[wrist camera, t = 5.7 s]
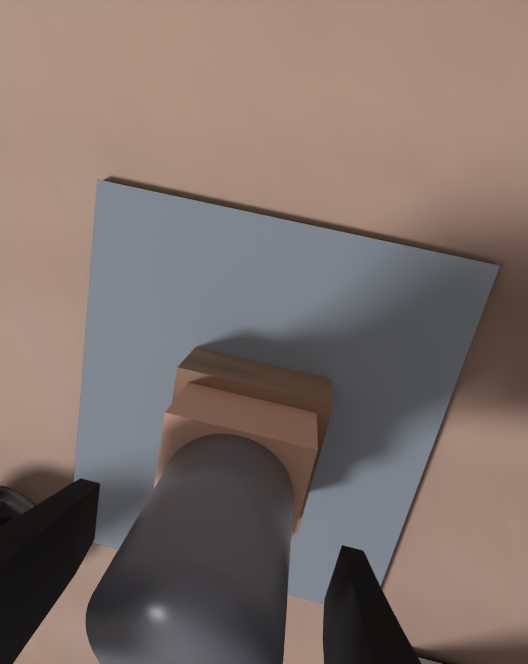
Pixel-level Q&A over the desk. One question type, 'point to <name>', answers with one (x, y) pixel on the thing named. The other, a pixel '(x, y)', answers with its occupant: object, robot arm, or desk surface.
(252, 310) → the mat
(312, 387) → the tower base
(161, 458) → the tower middle
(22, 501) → the salt shaker
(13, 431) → the desk surface
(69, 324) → the desk surface
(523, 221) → the desk surface
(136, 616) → the dark grey cylinder
